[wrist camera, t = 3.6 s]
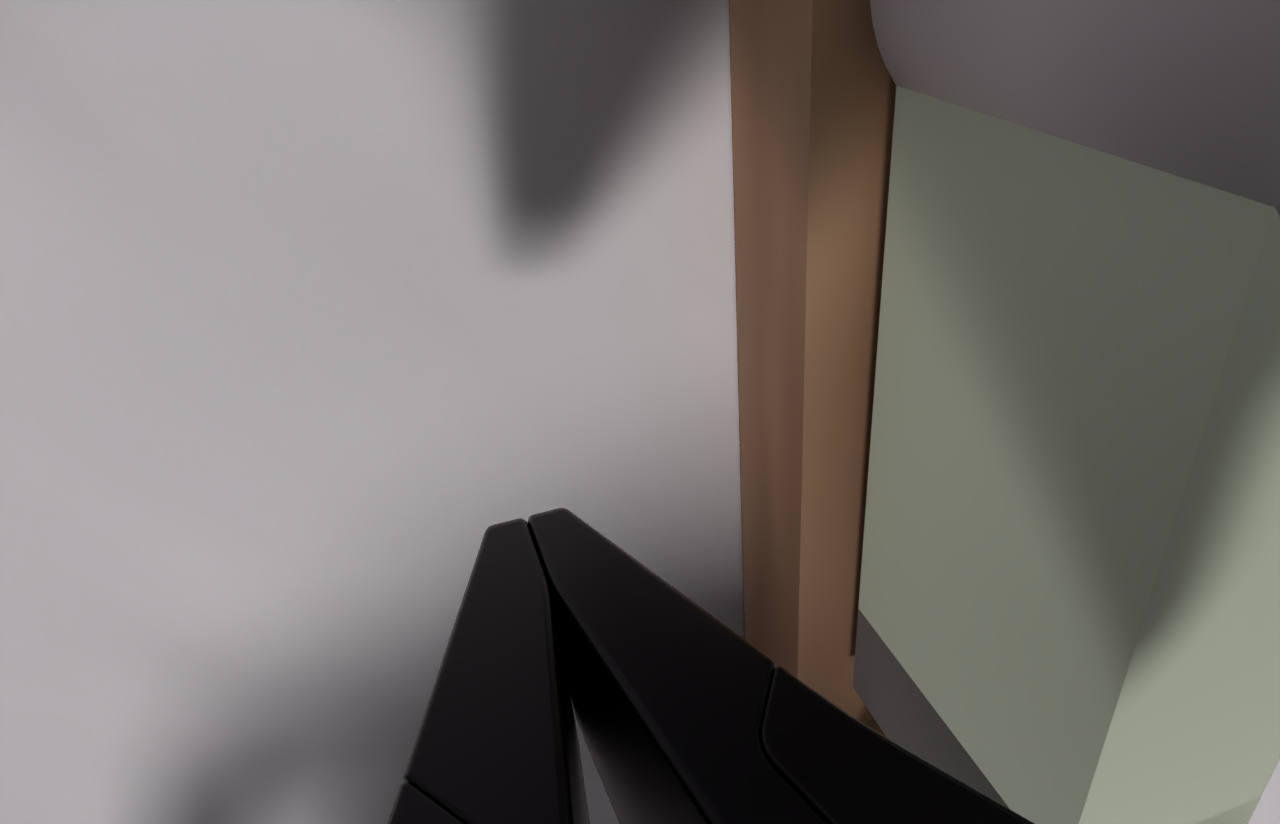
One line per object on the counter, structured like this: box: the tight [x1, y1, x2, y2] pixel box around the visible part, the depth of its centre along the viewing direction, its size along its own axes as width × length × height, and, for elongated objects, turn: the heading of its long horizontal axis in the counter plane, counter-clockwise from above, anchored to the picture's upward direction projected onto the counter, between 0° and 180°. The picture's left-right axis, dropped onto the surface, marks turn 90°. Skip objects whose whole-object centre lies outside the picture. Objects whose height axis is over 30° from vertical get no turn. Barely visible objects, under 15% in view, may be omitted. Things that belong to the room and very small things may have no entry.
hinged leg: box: [853, 0, 1280, 824], centre depth 8 cm, size 11×3×4 cm, turn 5°
